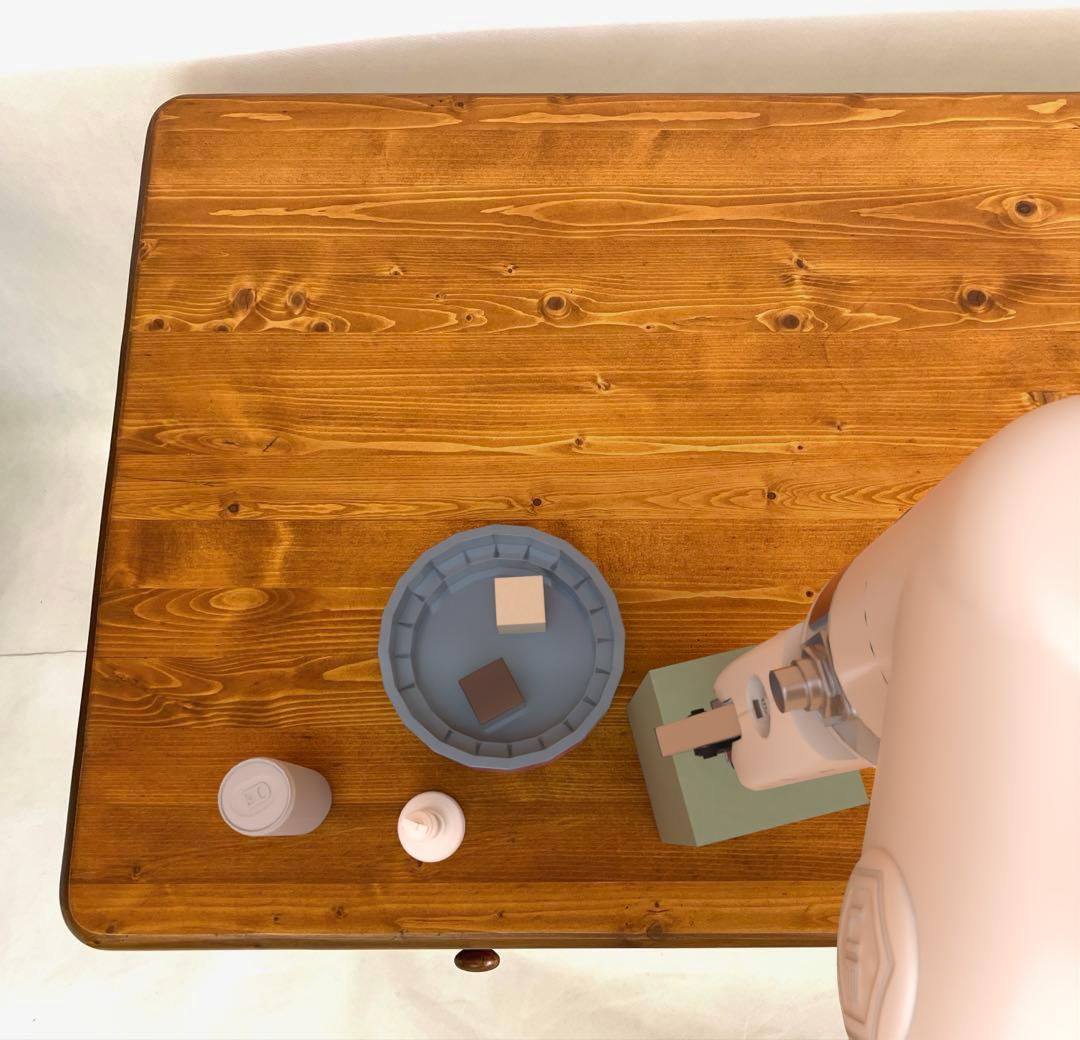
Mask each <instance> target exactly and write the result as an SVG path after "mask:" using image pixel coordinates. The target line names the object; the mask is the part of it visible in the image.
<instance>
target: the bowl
mask: <svg viewBox="0 0 1080 1040" xmlns="http://www.w3.org/2000/svg"><path fill="white" fill-rule="evenodd" d="M538 575H542V576H543V588H544V604H545V620H546V632H535V633H518V634H502V635H500V634H499V632H498V628H497V622H496V601H495V580H494V579H495V578H505V577H521V576H538ZM625 647H626V630H625V626H624V622H623V618H622V615H621V610H620V607H619V604H618V599H617V596H616V594H615V593H614V591H613V590H612V588H611V587H610V585H609V583H608V582H607V580H606V579H605V577H604V576H603V574H602V573H601V571H600V570H599V568H598V567H597V565H596V564H595V563H594V562H593V560H590V559H589V558H588V557H587V556H586V555H585V554H583V553H582V552H581V551H580V550H578V549H577V548H576V547H574V546H573V545H572V544H571V543H569V541H567V540H565V539H563V538H561V537H558V536H555V535H553V534H550V533H548V532H545V531H542V530H540V529H537V528H535V527H532V526H529V525H528V526H527V525H514V524H513V525H512V524H500V523H499V524H497V523H493V524H489V525H484V526H480V527H476V528H470V529H465V530H463V531H458V532H455V533H453V534H452V535H450V536H449V537H447V538H445V539H443V540H442V541H440V542H438V543H436V544H435V545H433V546H431V547H429V548H428V549H426V550H424V551H423V552H422V553H421V554H420V555H419V556H418V558H416V559H415V561H414V562H413V563H412V564H411V565H410V566H409V567H408V568H407V569H406V571H405V572H404V573H403V574H402V575H400V577H399V578H398V580H397V582H396V583H395V586H394V588H393V590H392V592H391V595H390V596H389V599H388V601H387V603H386V605H385V607H384V609H383V612H382V614H381V621H380V627H379V636H378V644H377V650H376V651H377V658H378V664H379V668H380V674H381V679H382V685H383V689H384V692H385V694H386V696H387V697H388V700H389V701H390V703H391V705H392V707H393V708H394V709H395V712H396V713H397V716H398V717H399V719H400V721H401V723H402V725H403V726H405V728H407V729H408V730H409V731H410V732H411V733H412V734H414V736H416V737H417V739H419V740H420V741H421V742H422V743H423V744H425V745H426V746H427V748H429V749H430V750H431V751H432V752H434V753H435V754H436V755H438V756H439V757H442V758H443V759H446V760H449V761H451V762H453V763H456V764H458V765H460V766H463V767H464V768H467V769H469V770H472V771H474V772H483V773H494V774H495V773H496V774H507V775H508V774H509V775H514V774H518V773H522V772H526V771H531V770H534V769H538V768H543V767H547V766H550V765H551V764H553V763H555V762H556V761H559V760H560V759H561V758H563V757H565V756H566V755H568V754H569V753H571V752H572V751H574V750H576V749H577V748H578V747H580V746H581V745H583V744H584V742H586V740H587V739H588V738H589V737H590V735H591V734H592V733H593V731H595V729H596V728H597V726H599V724H600V723H601V722H602V721H603V719H604V718H605V717H606V716H607V713H608V711H609V710H610V707H611V704H612V702H613V700H614V696H615V694H616V691H617V689H618V687H619V684H620V681H621V679H622V676H623V673H624V669H625V668H624V667H625V652H626V651H625V649H626V648H625ZM499 658H503V660H504V662H505V664H506V666H507V668H508V670H509V671H510V673H511V675H512V677H513V679H514V681H515V683H516V685H517V686H518V688H519V690H520V692H521V694H522V696H523V698H524V700H525V705H526V707H525V708H523V709H521V710H519V711H517V712H516V713H514V714H512V715H510V716H508V717H507V718H505V719H503V720H501V721H499V722H497V723H496V724H494V725H492V726H490V727H488V728H486V729H483V728H482V726H481V725H480V723H479V721H478V719H477V717H476V715H475V713H474V711H473V709H472V708H471V706H470V704H469V702H468V700H467V698H466V696H465V694H464V692H463V690H462V688H461V686H460V684H459V682H458V681H459V680H460V679H462V678H464V677H466V676H467V675H469V674H471V673H473V672H475V671H477V670H479V669H481V668H482V667H484V666H486V665H488V664H490V663H492V662H494V661H495V660H497V659H499Z"/></svg>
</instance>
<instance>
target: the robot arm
mask: <svg viewBox="0 0 1080 1040" xmlns="http://www.w3.org/2000/svg"><path fill="white" fill-rule="evenodd" d="M760 643H761V644H760ZM760 643H758V644H759V645H758V646H756V647H754V648H753V649H751V650H749V651H748V652H746V653H744V654H743V655H741V656H740V657H738V658H737V659H735V660H734V661H733V662H731V663H730V664H729V665H728V666H727V667H726V668H725V669H724V670H723V671H722V672H721V673H720V675H719V676H718V678H717V679H716V682H715V684H714V688H713V691H714V692H715V694H716V697H717V699H714V700H712V701H710V705H711V708H712V710H709V711H705V710H704V708H701V709H697V710H693V711H690V712H691V715H689V716H688V717H686V718H684V719H681V720H678V721H675V722H672V723H669V724H665V725H662V726H659V727H656V728H654V731H655V735H656V738H657V742H658V746H659V749H660V753H661V757H662V758H663V757H668V756H673V755H678V754H683V753H687V752H691V751H694V753H695V756H699V757H701V756H703V759H708V758H712V757H715V756H718V755H717V754H720V753H725V757H726V760H727V763H731V766H732V768H733V769H735V771H736V774H737V776H738V779H739V781H740V783H741V784H742V785H743V786H745V787H746V788H749V789H751V790H754V791H760V790H765V789H770V788H775V787H780V786H784V785H788V784H793V783H797V782H802V781H806V780H811V779H815V778H820V777H825V776H830V775H835V774H840V773H845V772H850V771H855V770H859V771H860V770H864V769H869V768H873V769H875V773H874V778H873V784H872V789H871V795H870V800H869V806H868V811H867V812H868V814H867V818H866V825H865V831H864V837H863V842H862V848H861V854H860V858H859V860H858V861H857V862H856V864H855V865H854V867H853V869H852V871H851V873H850V875H849V878H848V881H847V884H846V887H845V891H844V895H843V898H842V903H841V908H840V913H839V918H838V929H837V937H836V938H837V939H836V981H837V990H838V999H839V1005H840V1009H841V1016H842V1019H843V1025H844V1029H845V1032H846V1035H847V1038H848V1040H1080V394H1072V395H1070V396H1067V397H1063V398H1061V399H1057V400H1054V401H1051V402H1047V403H1045V404H1043V405H1040V406H1038V407H1035V408H1033V409H1031V410H1029V411H1027V412H1025V413H1023V414H1021V415H1019V416H1018V417H1016V418H1015V419H1013V420H1012V421H1010V422H1008V423H1007V424H1006V425H1005V426H1003V427H1002V428H1000V429H999V430H998V431H996V432H995V433H994V434H993V435H991V436H989V437H988V438H987V439H986V440H985V441H983V442H982V443H981V444H980V445H979V446H978V447H977V448H975V450H973V451H972V452H971V453H970V454H969V455H968V456H966V458H964V459H963V461H961V462H960V463H959V464H957V466H956V467H954V468H953V469H952V470H951V471H950V472H949V473H948V474H946V476H945V477H943V478H942V479H941V480H940V481H939V482H938V483H937V484H935V486H934V487H932V488H931V489H930V490H929V491H928V492H927V493H925V495H923V496H922V497H921V498H920V499H919V500H918V501H917V502H916V503H914V504H913V505H912V506H911V507H910V508H908V509H907V510H906V511H905V512H904V513H903V514H901V516H899V517H898V518H897V519H896V520H894V522H893V523H891V525H889V526H888V527H887V528H886V529H885V530H884V531H883V532H882V533H880V534H879V536H877V537H876V538H875V539H874V540H872V542H871V543H869V544H868V545H867V546H866V547H864V548H863V549H862V550H861V551H860V552H859V553H858V554H857V555H856V556H855V557H853V558H852V559H851V560H850V561H849V562H848V563H846V565H844V567H842V568H841V569H840V570H838V571H837V572H836V573H835V574H834V575H833V576H832V577H830V579H829V580H828V581H827V582H826V583H825V584H824V585H823V587H822V588H821V590H819V593H818V594H817V595H816V596H815V598H814V599H813V601H812V604H811V606H810V608H809V610H808V613H807V615H806V617H805V619H803V620H802V621H800V622H798V623H796V624H794V625H793V626H790V627H789V628H787V629H783V630H780V631H778V632H777V633H776V634H775V635H774V636H772V637H770V638H768V639H766V640H764V641H763V642H760Z"/></svg>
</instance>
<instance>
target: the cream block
mask: <svg viewBox="0 0 1080 1040" xmlns="http://www.w3.org/2000/svg"><path fill="white" fill-rule="evenodd" d="M494 580H495V601H496V622H497V628H498V632H499V634H500V635H502V634H518V633H535V632H546V620H545V604H544V588H543V576H542V575H538V576H521V577H505V578H495V579H494Z"/></svg>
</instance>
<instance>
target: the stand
mask: <svg viewBox="0 0 1080 1040" xmlns="http://www.w3.org/2000/svg"><path fill="white" fill-rule="evenodd" d="M761 643H762V642H760V643H757V644H753V645H748V646H744V647H739V648H735V649H731V650H728V651H724V652H720V653H719V652H718V653H715V654H711V655H707V656H703V657H699V658H695V659H690V660H686V661H681V662H678V663H674V664H670V665H666V666H661V667H657V668H654V669H649V670H648V672H647V673H646V675H645V677H644V678H643V679H642V681H641V683H640V684H639V686H638V687H637V689H636V690H635V692H634V694H633V695H632V696H631V698H630V700H629V702H628V704H627V705H626V707H625V711H626V714H627V718H628V721H629V725H630V730H631V733H632V737H633V740H634V745H635V748H636V753H637V756H638V760H639V763H640V767H641V771H642V775H643V779H644V783H645V786H646V790H647V793H648V797H649V802H650V805H651V809H652V813H653V816H654V820H655V824H656V828H657V832H658V835H659V839H660V843H661V844H670V845H678V846H679V845H680V846H688V847H698V848H699V847H703V846H706V845H711V844H715V843H719V842H723V841H726V840H730V839H734V838H738V837H741V836H745V835H749V834H754V833H758V832H762V831H766V830H769V829H773V828H777V827H781V826H785V825H789V824H793V823H796V822H801V821H805V820H809V819H812V818H817V817H820V816H824V815H828V814H832V813H836V812H840V811H843V810H848V809H851V808H857V807H859V806H864V805H867V804H870V799H869V797H868V793H867V791H866V788H865V784H864V780H863V778H862V774H861V772H860V770H855V771H850V772H845V773H840V774H835V775H830V776H825V777H820V778H815V779H811V780H806V781H802V782H797V783H793V784H788V785H784V786H780V787H775V788H770V789H765V790H760V791H754V790H751V789H749V788H746V787H745V786H743V785H742V784H741V783H740V781H739V779H738V776H737V774H736V771H735V769H733V768H732V766H731V763H727V760H726V757H725V753H720V754H717V755H718V756H715V757H712V758H708V759H703V756H701V757H699V756H695V753H694V751H691V752H687V753H683V754H678V755H673V756H668V757H663V758H662V757H661V753H660V749H659V746H658V742H657V738H656V735H655V731H654V728H656V727H659V726H662V725H665V724H669V723H672V722H675V721H678V720H681V719H684V718H686V717H688V716H689V715H691V712H690V711H693V710H697V709H701V708H704V710H705V711H709V710H712V708H711V705H710V701H712V700H714V699H717V697H716V694H715V692H714V691H713V688H714V684H715V682H716V679H717V678H718V676H719V675H720V673H721V672H722V671H723V670H724V669H725V668H726V667H727V666H728V665H729V664H730V663H731V662H733V661H734V660H735V659H737V658H738V657H740V656H741V655H743V654H744V653H746V652H748V651H749V650H751V649H753V648H754V647H756V646H758V645H759V644H761Z"/></svg>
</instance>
